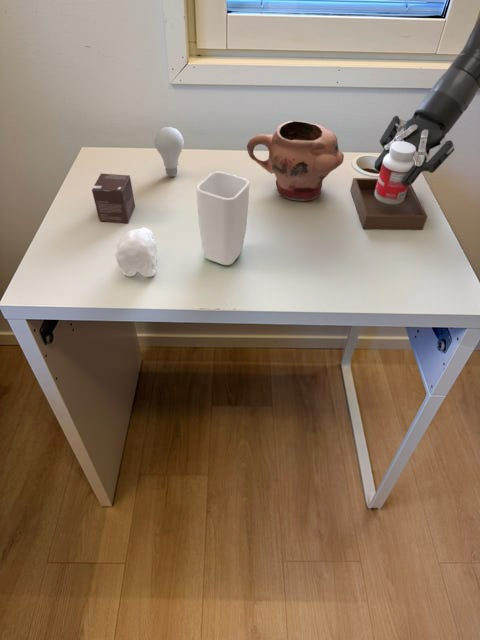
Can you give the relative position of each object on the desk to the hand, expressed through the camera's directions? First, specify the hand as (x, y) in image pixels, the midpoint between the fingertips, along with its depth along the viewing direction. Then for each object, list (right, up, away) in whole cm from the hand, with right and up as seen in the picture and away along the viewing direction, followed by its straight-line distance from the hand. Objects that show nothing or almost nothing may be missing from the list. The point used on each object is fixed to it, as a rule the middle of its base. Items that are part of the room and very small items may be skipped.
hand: (390, 176), depth 92 cm
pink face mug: (-19, 0, +11) cm, 21 cm away
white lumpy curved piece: (-48, -18, -7) cm, 51 cm away
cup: (-33, -16, -5) cm, 37 cm away
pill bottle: (+1, -3, +5) cm, 6 cm away
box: (-55, -7, +3) cm, 55 cm away
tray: (+1, -5, +7) cm, 8 cm away
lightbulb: (-45, +4, +13) cm, 47 cm away
